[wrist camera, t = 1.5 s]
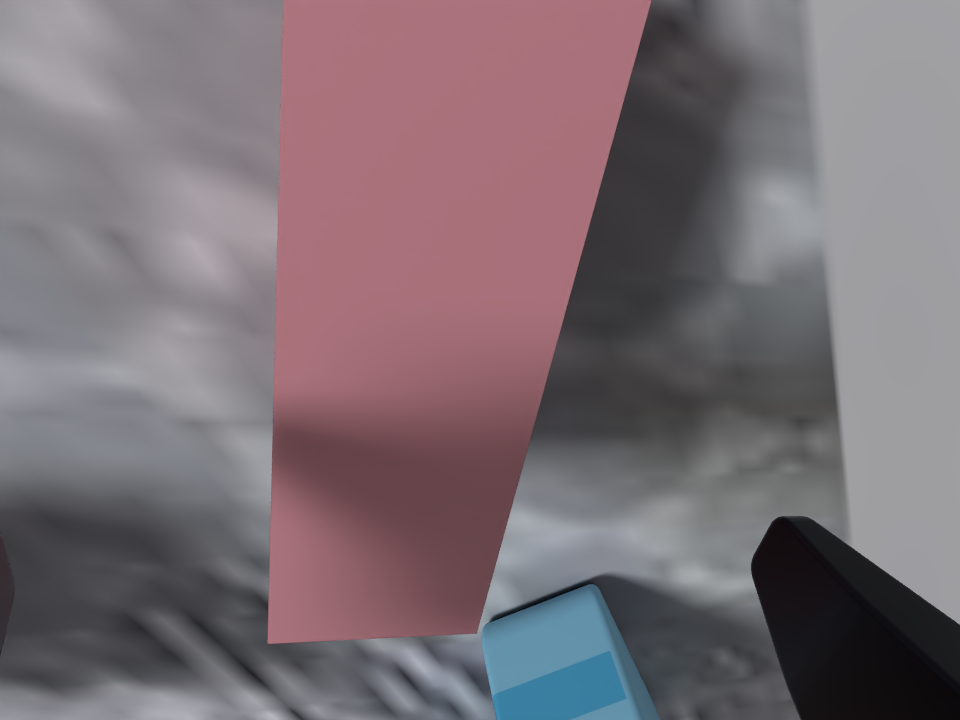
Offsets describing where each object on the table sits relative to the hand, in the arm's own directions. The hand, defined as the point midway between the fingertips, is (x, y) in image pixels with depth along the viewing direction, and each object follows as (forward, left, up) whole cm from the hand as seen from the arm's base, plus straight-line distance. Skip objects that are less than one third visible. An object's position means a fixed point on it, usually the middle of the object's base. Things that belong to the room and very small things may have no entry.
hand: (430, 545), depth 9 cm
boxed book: (0, 0, -11) cm, 11 cm away
